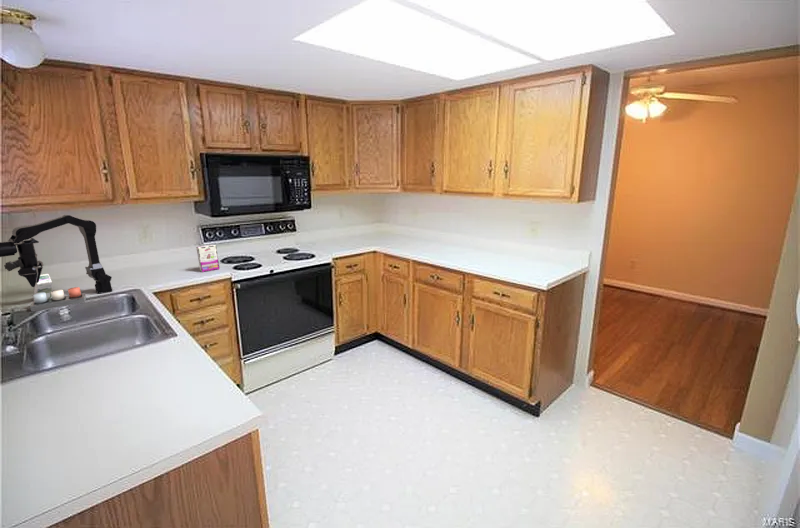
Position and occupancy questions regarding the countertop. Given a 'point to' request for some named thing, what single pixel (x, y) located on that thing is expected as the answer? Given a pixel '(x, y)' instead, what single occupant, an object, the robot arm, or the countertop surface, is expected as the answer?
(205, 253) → the candy bar box
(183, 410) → the countertop surface
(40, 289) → the syrup box
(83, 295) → the console
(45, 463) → the countertop surface
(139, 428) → the countertop surface
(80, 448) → the countertop surface
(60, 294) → the ivory button
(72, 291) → the red button
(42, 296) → the blue button
